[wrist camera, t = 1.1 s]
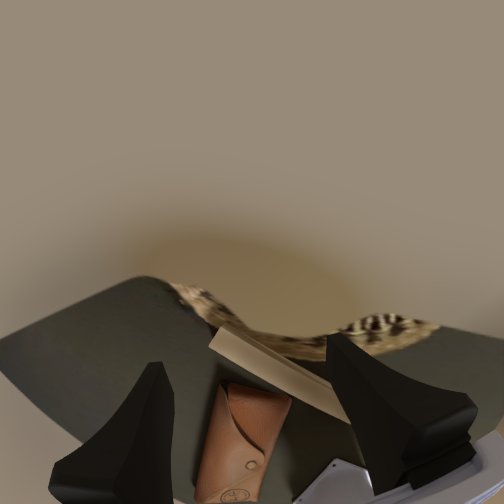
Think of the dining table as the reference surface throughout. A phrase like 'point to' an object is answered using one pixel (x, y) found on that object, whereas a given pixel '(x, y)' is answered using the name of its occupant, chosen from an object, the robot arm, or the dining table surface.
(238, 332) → the bar
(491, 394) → the dining table surface
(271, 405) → the sunglasses case
